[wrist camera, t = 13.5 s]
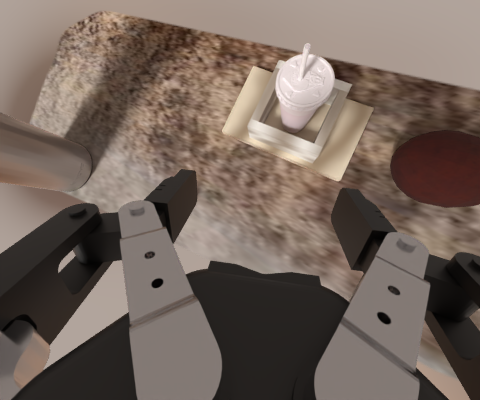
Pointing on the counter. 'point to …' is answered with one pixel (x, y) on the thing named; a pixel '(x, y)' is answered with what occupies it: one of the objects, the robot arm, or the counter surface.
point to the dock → (310, 137)
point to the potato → (439, 169)
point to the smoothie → (303, 88)
